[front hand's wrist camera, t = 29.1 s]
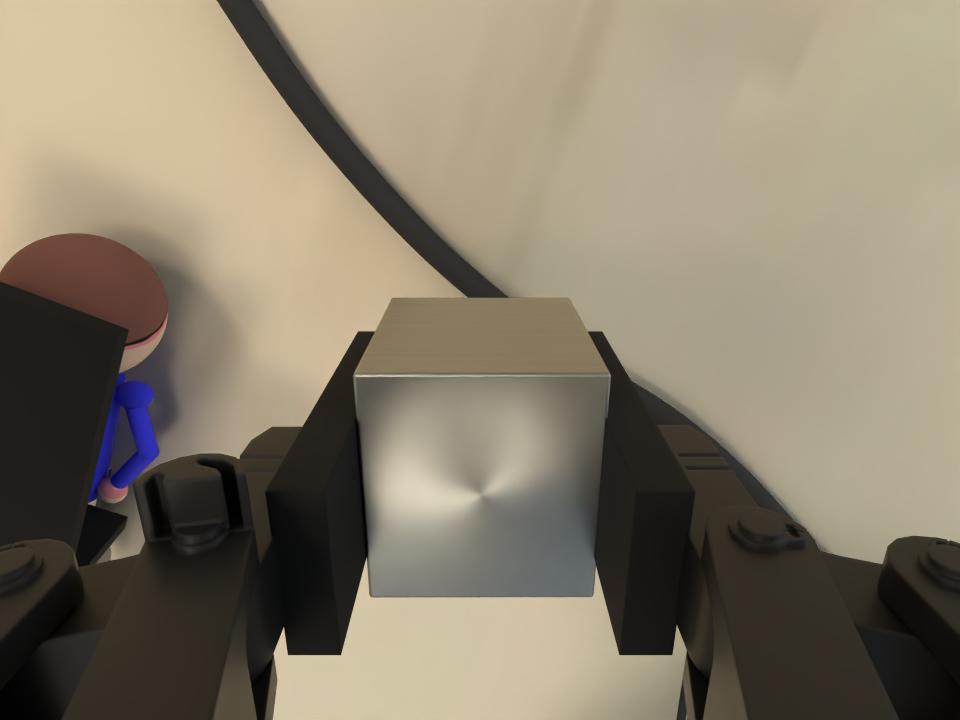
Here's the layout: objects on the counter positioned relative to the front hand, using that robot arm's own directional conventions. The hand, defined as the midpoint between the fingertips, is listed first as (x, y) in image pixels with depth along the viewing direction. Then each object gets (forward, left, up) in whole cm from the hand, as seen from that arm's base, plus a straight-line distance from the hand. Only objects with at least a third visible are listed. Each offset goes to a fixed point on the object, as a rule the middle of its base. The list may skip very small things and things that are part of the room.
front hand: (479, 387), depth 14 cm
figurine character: (0, -16, -10) cm, 19 cm away
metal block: (0, 0, 0) cm, 0 cm away
